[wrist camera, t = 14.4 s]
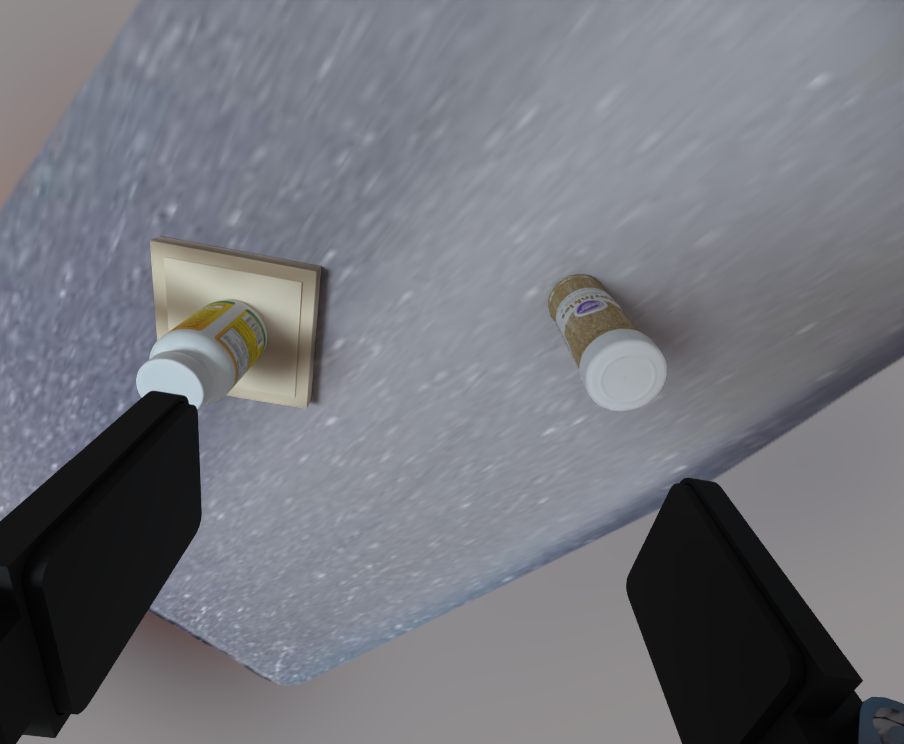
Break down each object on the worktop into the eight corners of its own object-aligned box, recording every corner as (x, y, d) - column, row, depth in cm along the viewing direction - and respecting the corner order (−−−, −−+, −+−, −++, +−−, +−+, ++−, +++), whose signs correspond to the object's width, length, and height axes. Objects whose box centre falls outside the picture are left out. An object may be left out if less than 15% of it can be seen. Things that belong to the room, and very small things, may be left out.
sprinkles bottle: (585, 261, 38) (645, 324, 26) (615, 306, 40) (684, 386, 28) (535, 296, 40) (570, 372, 27) (565, 339, 41) (612, 428, 29)
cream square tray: (160, 236, 38) (148, 240, 36) (321, 266, 38) (316, 272, 37) (169, 376, 43) (159, 385, 41) (311, 399, 44) (306, 409, 42)
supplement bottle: (279, 319, 39) (229, 376, 30) (254, 373, 41) (200, 441, 32) (211, 284, 37) (137, 332, 29) (188, 341, 40) (114, 403, 31)
